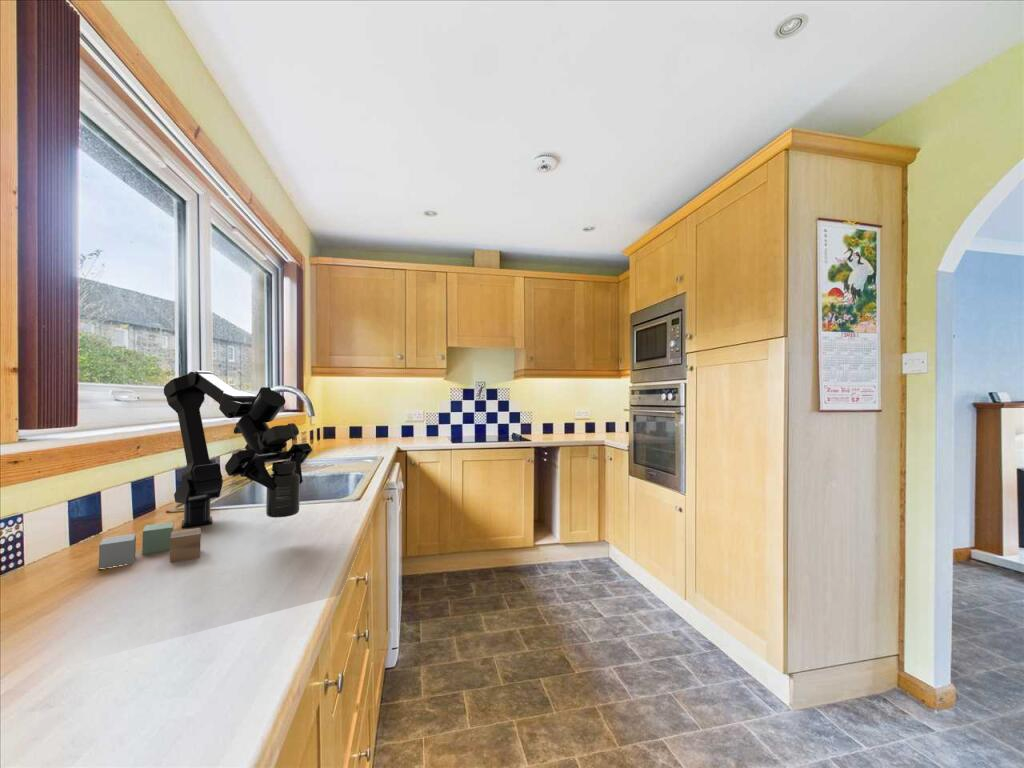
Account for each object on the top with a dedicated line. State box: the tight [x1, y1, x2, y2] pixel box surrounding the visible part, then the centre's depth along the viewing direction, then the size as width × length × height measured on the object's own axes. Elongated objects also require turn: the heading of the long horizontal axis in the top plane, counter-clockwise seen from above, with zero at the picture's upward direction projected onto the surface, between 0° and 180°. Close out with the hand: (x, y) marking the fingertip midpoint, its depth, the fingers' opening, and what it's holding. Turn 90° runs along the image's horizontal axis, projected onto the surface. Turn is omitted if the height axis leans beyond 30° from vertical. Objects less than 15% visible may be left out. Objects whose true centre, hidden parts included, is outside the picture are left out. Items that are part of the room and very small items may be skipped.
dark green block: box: [141, 521, 175, 555], centre depth 95 cm, size 5×5×5 cm
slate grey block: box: [98, 533, 137, 569], centre depth 87 cm, size 5×5×5 cm
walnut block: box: [169, 527, 202, 563], centre depth 91 cm, size 5×5×5 cm
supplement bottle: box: [265, 460, 301, 518], centre depth 100 cm, size 7×7×12 cm
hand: (287, 485), depth 99 cm, fingers closed on supplement bottle, 7 cm apart
